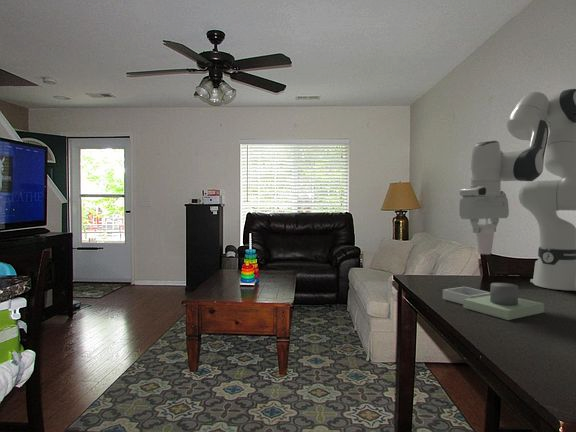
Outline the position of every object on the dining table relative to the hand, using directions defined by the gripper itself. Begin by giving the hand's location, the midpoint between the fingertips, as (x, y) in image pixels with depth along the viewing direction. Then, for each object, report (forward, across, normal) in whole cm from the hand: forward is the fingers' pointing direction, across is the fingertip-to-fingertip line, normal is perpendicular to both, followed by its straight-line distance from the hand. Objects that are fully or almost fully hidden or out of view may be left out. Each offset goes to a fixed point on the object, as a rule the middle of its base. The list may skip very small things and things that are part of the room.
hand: (484, 232), depth 133 cm
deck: (+21, +10, +9) cm, 25 cm away
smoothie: (+7, 0, 0) cm, 7 cm away
